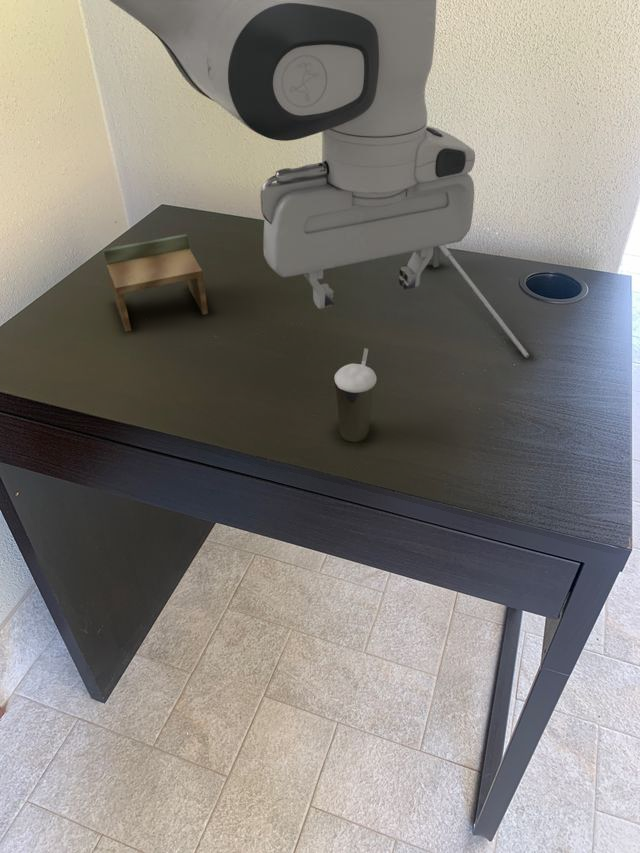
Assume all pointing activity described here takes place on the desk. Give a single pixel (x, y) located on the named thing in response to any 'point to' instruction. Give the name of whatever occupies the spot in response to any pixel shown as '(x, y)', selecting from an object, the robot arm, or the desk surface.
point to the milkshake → (355, 399)
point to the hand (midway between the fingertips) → (366, 295)
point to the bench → (153, 269)
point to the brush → (435, 263)
